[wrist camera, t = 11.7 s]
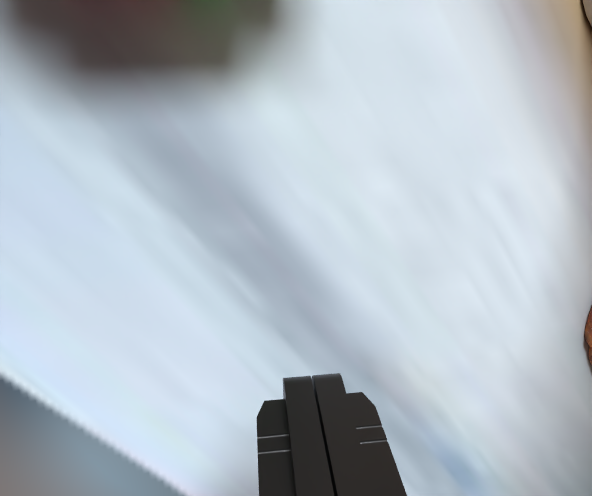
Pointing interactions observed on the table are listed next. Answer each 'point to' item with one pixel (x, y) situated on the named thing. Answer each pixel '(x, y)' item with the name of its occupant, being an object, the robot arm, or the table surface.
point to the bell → (589, 334)
